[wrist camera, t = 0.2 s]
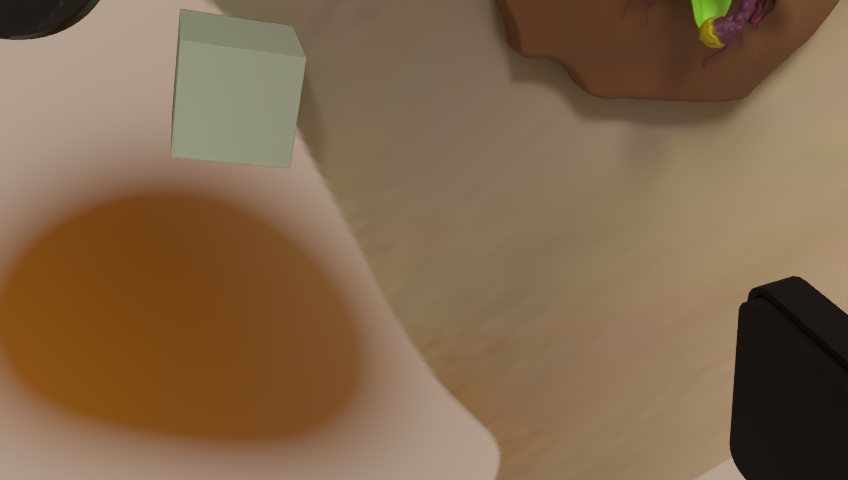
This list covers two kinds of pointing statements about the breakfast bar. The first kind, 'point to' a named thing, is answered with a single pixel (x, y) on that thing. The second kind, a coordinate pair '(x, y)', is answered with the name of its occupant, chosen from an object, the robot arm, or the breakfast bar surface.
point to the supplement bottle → (40, 17)
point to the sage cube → (236, 90)
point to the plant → (664, 43)
